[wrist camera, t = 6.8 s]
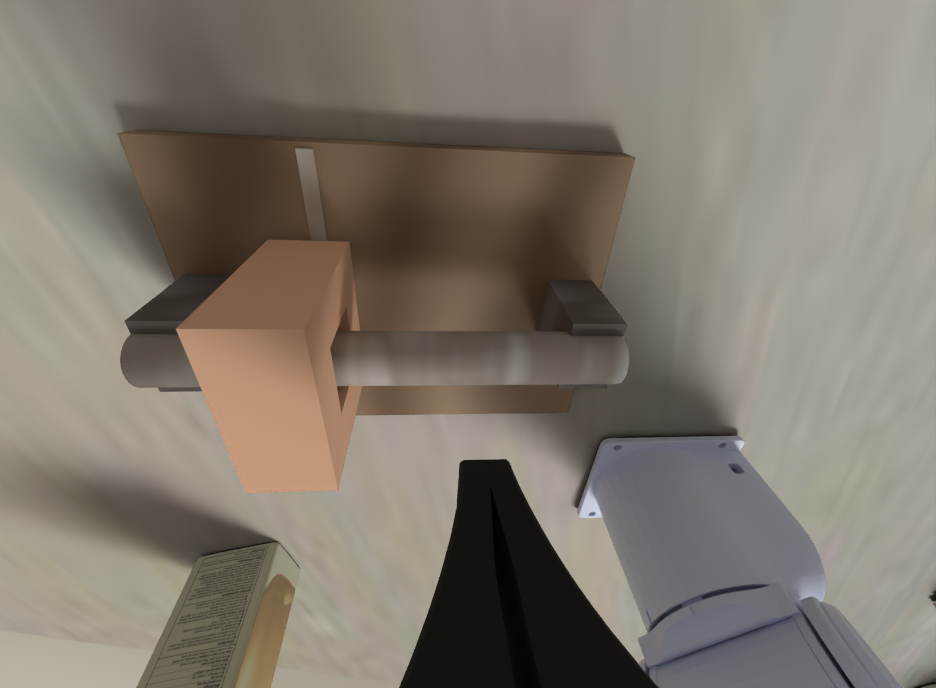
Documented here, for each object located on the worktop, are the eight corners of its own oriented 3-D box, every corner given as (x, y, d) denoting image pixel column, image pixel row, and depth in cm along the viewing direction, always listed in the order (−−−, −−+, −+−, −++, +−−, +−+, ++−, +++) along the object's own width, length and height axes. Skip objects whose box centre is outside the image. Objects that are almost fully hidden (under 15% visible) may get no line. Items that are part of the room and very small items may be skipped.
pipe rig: (624, 153, 16) (711, 186, 11) (563, 400, 23) (598, 486, 18) (136, 130, 14) (-22, 156, 9) (237, 404, 21) (179, 499, 16)
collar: (349, 241, 15) (304, 329, 10) (365, 373, 19) (337, 490, 13) (267, 239, 15) (175, 329, 9) (299, 373, 18) (245, 492, 13)
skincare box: (227, 581, 31) (128, 824, 21) (196, 553, 29) (68, 812, 19) (306, 568, 31) (244, 807, 21) (282, 539, 28) (198, 793, 18)
